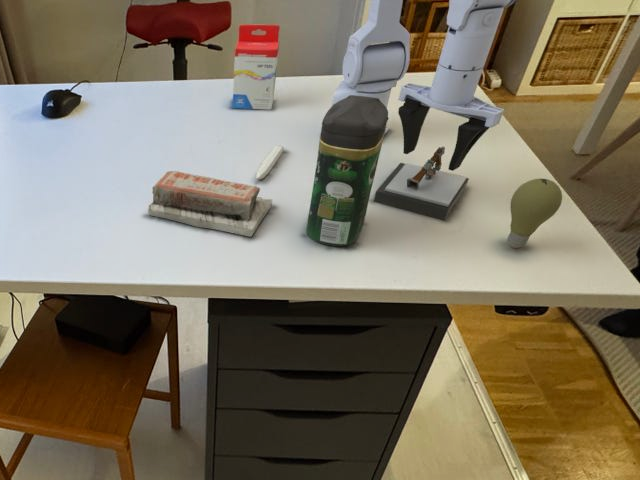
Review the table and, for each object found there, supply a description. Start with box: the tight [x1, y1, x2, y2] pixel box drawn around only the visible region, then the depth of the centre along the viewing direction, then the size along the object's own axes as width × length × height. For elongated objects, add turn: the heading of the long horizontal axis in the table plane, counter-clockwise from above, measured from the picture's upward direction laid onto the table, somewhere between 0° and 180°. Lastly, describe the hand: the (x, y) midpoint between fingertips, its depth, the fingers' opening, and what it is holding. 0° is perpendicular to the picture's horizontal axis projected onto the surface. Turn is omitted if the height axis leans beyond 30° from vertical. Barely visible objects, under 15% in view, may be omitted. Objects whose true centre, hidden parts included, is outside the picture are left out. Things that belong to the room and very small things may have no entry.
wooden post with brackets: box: [407, 146, 446, 191], centre depth 85 cm, size 2×8×4 cm, turn 131°
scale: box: [373, 162, 470, 221], centre depth 87 cm, size 11×11×2 cm
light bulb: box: [506, 177, 563, 249], centre depth 73 cm, size 6×6×10 cm
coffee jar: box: [305, 95, 390, 247], centre depth 75 cm, size 10×8×19 cm
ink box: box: [232, 23, 280, 111], centre depth 111 cm, size 8×5×15 cm, turn 77°
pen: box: [255, 144, 285, 180], centre depth 96 cm, size 2×14×2 cm, turn 154°
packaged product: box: [147, 170, 273, 238], centre depth 86 cm, size 18×5×10 cm
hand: (430, 159), depth 83 cm, fingers open, 7 cm apart
